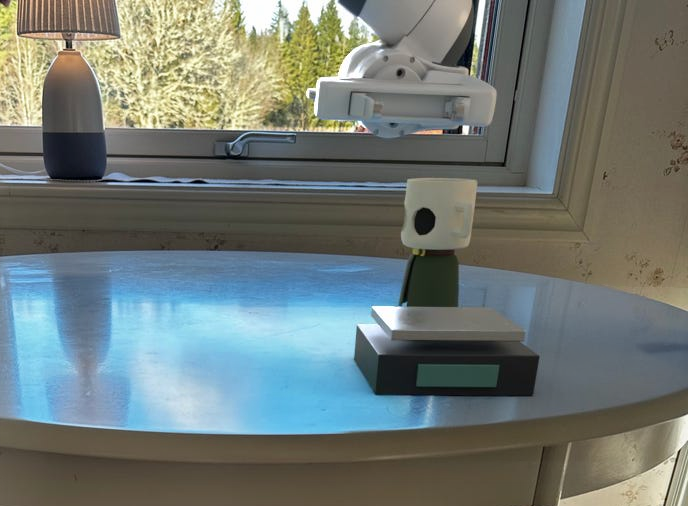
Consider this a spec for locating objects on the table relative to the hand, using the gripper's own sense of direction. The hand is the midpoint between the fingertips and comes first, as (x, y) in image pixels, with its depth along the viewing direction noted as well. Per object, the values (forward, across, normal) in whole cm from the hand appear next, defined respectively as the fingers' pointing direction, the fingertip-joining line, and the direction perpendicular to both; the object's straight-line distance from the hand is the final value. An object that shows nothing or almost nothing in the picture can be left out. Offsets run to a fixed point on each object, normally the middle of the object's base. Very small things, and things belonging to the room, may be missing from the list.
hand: (418, 111), depth 102 cm
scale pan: (+40, -6, +10) cm, 41 cm away
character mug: (+12, +1, +18) cm, 21 cm away
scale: (+40, -6, +14) cm, 43 cm away
